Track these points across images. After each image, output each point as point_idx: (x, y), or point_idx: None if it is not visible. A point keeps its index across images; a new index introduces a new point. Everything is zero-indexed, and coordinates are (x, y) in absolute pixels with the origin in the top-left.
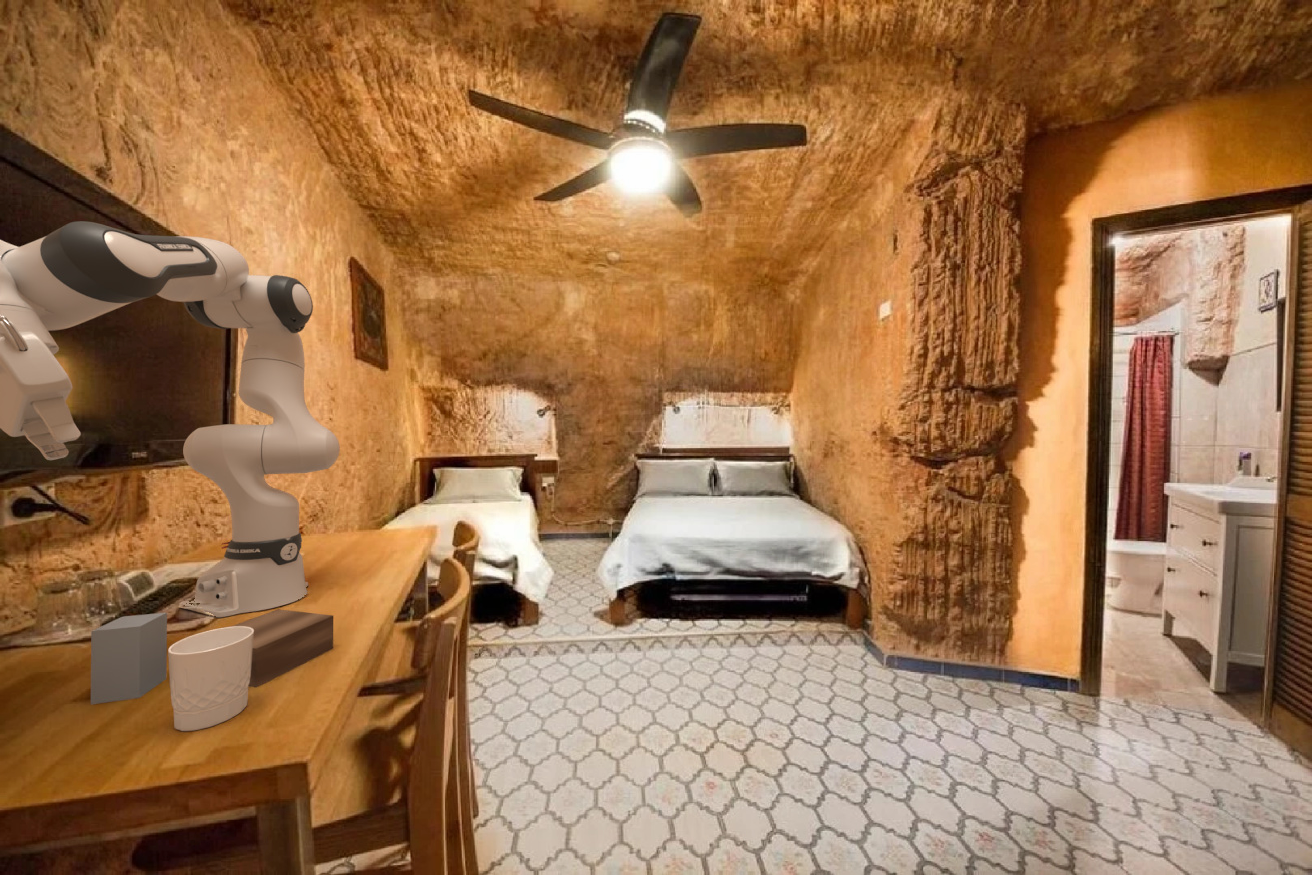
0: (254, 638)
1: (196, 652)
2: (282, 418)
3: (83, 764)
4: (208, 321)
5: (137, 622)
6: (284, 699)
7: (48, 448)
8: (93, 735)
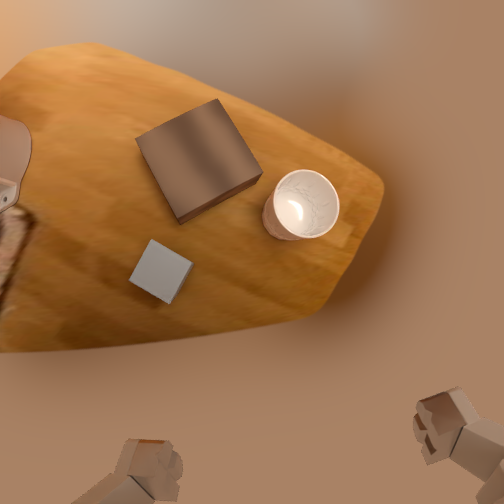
0: (228, 169)
1: (336, 218)
2: None
3: (297, 288)
4: None
5: (171, 265)
6: None
7: (174, 484)
8: (250, 288)
